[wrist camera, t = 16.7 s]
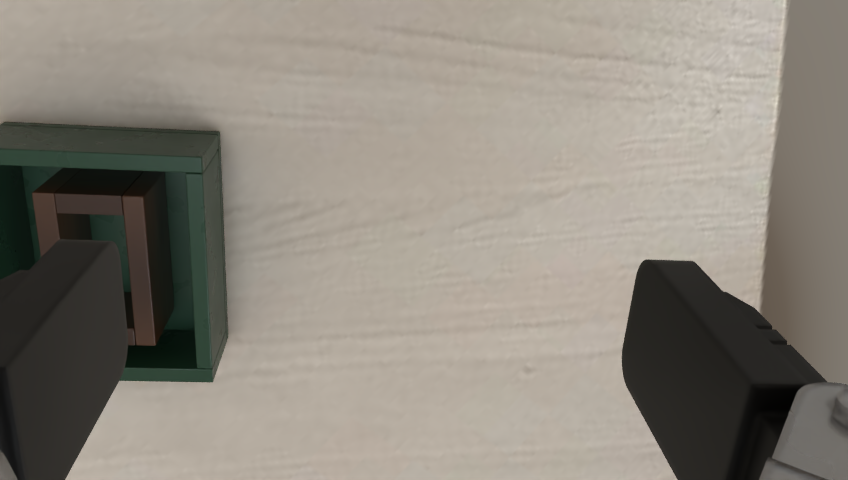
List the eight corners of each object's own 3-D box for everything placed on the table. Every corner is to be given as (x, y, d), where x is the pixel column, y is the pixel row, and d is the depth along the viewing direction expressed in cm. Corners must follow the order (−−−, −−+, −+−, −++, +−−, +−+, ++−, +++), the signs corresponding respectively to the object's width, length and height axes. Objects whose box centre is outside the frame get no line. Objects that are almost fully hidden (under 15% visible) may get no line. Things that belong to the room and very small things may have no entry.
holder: (4, 121, 38) (-42, 147, 34) (220, 131, 39) (201, 157, 35) (36, 333, 43) (-1, 378, 38) (228, 337, 44) (213, 382, 39)
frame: (63, 166, 39) (31, 192, 35) (164, 170, 39) (143, 196, 35) (81, 306, 42) (53, 344, 38) (174, 309, 42) (155, 346, 38)
